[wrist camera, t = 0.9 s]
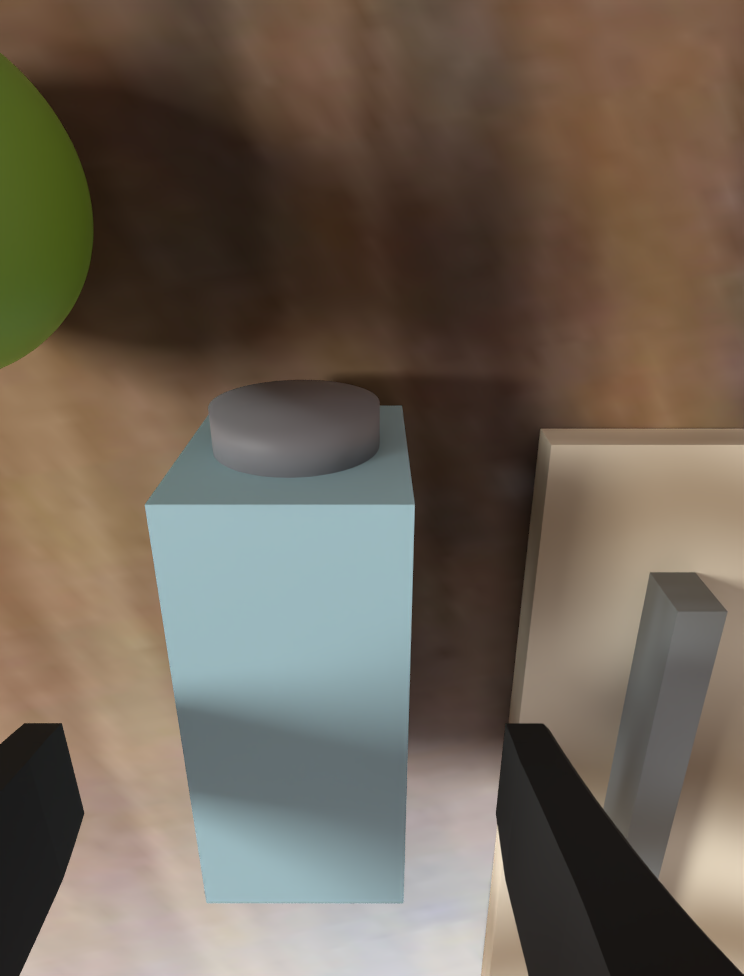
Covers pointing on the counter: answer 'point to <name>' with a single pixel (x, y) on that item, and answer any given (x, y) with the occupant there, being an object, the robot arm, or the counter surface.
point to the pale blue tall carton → (292, 639)
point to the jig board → (641, 657)
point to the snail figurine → (38, 218)
